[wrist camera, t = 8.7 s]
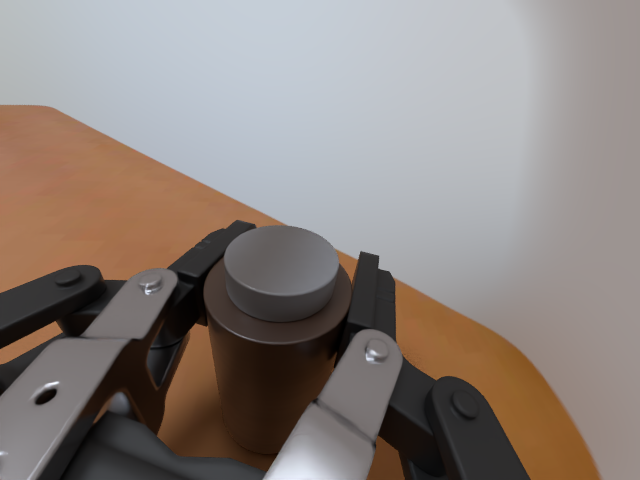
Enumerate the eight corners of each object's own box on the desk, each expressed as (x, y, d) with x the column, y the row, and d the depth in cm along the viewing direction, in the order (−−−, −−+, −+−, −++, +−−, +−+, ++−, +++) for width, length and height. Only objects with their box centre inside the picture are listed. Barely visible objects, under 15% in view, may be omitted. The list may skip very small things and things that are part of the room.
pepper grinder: (325, 357, 13) (358, 228, 9) (315, 464, 10) (363, 332, 5) (243, 342, 13) (237, 207, 9) (202, 443, 10) (158, 295, 5)
